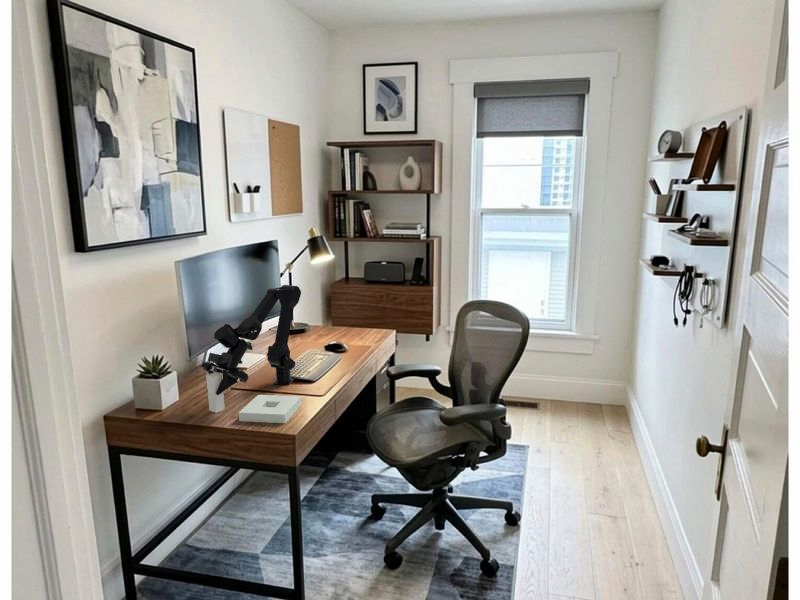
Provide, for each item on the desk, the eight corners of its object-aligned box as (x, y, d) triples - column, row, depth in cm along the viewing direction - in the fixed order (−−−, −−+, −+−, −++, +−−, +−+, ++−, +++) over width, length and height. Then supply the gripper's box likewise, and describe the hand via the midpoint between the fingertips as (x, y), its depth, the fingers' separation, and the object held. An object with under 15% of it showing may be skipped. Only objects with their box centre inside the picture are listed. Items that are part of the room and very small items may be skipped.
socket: (259, 402, 192) (258, 394, 192) (301, 404, 190) (301, 396, 189) (239, 421, 177) (238, 412, 176) (285, 423, 174) (284, 414, 174)
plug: (217, 407, 189) (214, 372, 186) (224, 409, 187) (221, 373, 184) (209, 410, 186) (206, 375, 183) (216, 412, 184) (213, 377, 181)
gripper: (202, 339, 190) (179, 378, 183) (239, 346, 180) (215, 387, 173) (222, 355, 198) (200, 392, 191) (258, 362, 188) (236, 402, 181)
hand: (212, 393), depth 184 cm, fingers open, 4 cm apart
